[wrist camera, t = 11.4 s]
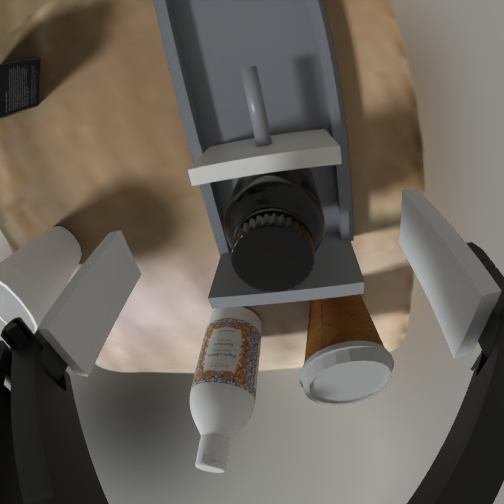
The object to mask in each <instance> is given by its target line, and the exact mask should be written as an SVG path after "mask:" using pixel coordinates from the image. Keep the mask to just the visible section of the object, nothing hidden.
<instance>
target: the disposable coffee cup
mask: <svg viewBox="0 0 504 504" xmlns="http://www.w3.org/2000/svg"><path fill="white" fill-rule="evenodd" d="M393 367H394V361H393V358H392V355H391V354H390V353H389V352H388V351H387V349H385V348H384V346H383V343H382V341H381V339H380V337H379V334H378V332H377V330H376V328H375V325H374V323H373V321H372V319H371V317H370V314H369V313H368V310H367V308H366V306H365V304H364V302H363V300H362V298H361V296H360V294H357V295H349V296H341V297H333V298H325V299H316V300H311V302H310V314H309V325H308V335H307V344H306V353H305V362H304V365H303V368H302V369H301V373H300V375H299V381H300V384H301V386H302V387H303V388H304V391H305V394H306V395H307V397H308V398H309V399H311V400H313V401H315V402H317V403H321V404H326V405H347V404H353V403H357V402H360V401H363V400H366V399H368V398H371V397H373V396H375V395H376V394H378V393H379V392H381V391H382V390H383V389H384V388H385V387H386V386H387V385H388V383H389V382H390V380H391V377H392V370H393Z"/></svg>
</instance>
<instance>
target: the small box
mask: <svg viewBox="0 0 504 504" xmlns="http://www.w3.org/2000/svg"><path fill="white" fill-rule="evenodd" d="M39 68H40V58H33V59H28V60H21V61H16V62H11V63H5V64H0V119H3V118H5V117H8V116H11V115H13V114H16V113H19V112H22V111H24V110H27V109H30V108H33V107H36V106H38V96H39V95H38V93H39Z"/></svg>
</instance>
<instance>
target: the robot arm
mask: <svg viewBox="0 0 504 504" xmlns="http://www.w3.org/2000/svg"><path fill="white" fill-rule="evenodd" d="M399 246H400V247H401V249H402V251H403V253H404V254H405V256H406V258H407V260H408V262H409V263H410V265H411V267H412V269H413V271H414V273H415V275H416V277H417V279H418V280H419V282H420V284H421V286H422V288H423V290H424V292H425V294H426V296H427V298H428V300H429V302H430V305H431V307H432V309H433V311H434V313H435V315H436V317H437V320H438V322H439V324H440V326H441V329H442V331H443V333H444V336H445V338H446V341H447V343H448V345H449V348H450V350H451V353H452V355H453V358H458V357H461V356H465V355H468V354H471V353H472V352H473V350H474V348H475V347H476V345H477V343H478V342H479V344H480V346H481V349H482V351H481V353H480V355H479V357H478V358H477V360H476V362H475V363H474V365H473V367H472V368H471V370H474V369H475V370H474V373H473V376H472V379H471V382H470V384H469V387H468V390H467V392H466V395H465V397H464V400H463V402H462V405H461V408H460V410H459V412H458V414H457V417H456V419H455V421H454V423H453V425H452V427H451V430H450V432H449V434H448V436H447V438H446V440H445V442H444V444H443V446H442V448H441V449H440V451H439V454H438V455H437V457H436V459H435V460H434V462H433V464H432V466H431V467H430V469H429V471H428V472H427V474H426V476H425V477H424V479H423V480H422V482H421V484H420V485H419V487H418V488H417V490H416V491H415V493H414V494H413V496H412V497H411V499H410V500H409V502H408V503H407V504H493V502H494V500H495V498H496V496H497V494H498V492H499V490H500V488H501V485H502V483H503V481H504V277H503V275H502V274H501V273H500V271H499V270H498V269H497V268H495V265H494V263H493V262H492V261H491V260H490V258H489V257H488V256H487V255H486V253H485V252H484V251H483V250H482V249H481V248H480V247H478V246H477V245H475V244H474V243H472V242H470V243H465V241H464V240H463V239H462V238H461V236H460V235H459V234H458V233H457V232H456V231H455V229H454V228H453V227H452V226H451V225H450V224H449V223H448V221H447V220H446V219H445V218H444V217H443V216H442V215H441V214H440V213H439V211H438V210H437V209H436V208H435V207H434V206H433V205H432V204H431V203H430V202H429V201H428V200H427V199H426V198H425V197H424V196H423V195H422V194H421V193H420V192H419V191H418V190H404V191H402V208H401V225H400V238H399ZM140 276H141V272H140V270H139V268H138V266H137V264H136V262H135V260H134V258H133V256H132V253H131V251H130V249H129V247H128V245H127V242H126V240H125V238H124V236H123V233H122V231H121V230H119V231H114V232H109V234H108V235H107V236H106V237H105V238H104V239H103V241H102V242H101V243H100V244H99V245H98V246H97V248H96V249H95V250H94V251H93V253H92V254H91V255H90V256H89V257H88V259H87V260H86V261H85V262H84V264H83V265H82V266H81V267H80V269H79V270H78V271H77V273H76V274H75V275H74V276H73V278H72V279H71V280H70V282H69V283H68V284H67V286H66V287H65V288H64V290H63V291H62V293H61V294H60V295H59V297H58V298H57V299H56V301H55V302H54V304H53V305H52V307H51V308H50V309H49V311H48V312H47V314H46V315H45V317H44V318H43V320H42V321H41V323H40V324H39V326H38V327H37V330H36V332H35V333H34V334H33V332H32V331H31V330H30V329H29V327H28V326H27V325H26V323H25V322H24V321H23V319H22V318H20V317H16V318H14V319H12V320H11V321H10V322H9V323H8V324H7V325H6V326H5V327H4V329H3V330H2V333H1V337H2V338H3V339H4V340H5V341H6V343H7V344H8V345H9V346H10V347H11V348H9V347H8V346H7V345H6V344H5V342H4V341H2V340H1V341H0V504H108V501H107V499H106V497H105V495H104V492H103V490H102V487H101V485H100V482H99V480H98V477H97V474H96V472H95V469H94V466H93V463H92V460H91V457H90V455H89V451H88V448H87V445H86V442H85V438H84V435H83V432H82V428H81V424H80V420H79V417H78V412H77V408H76V404H75V400H74V395H73V390H72V386H71V380H70V376H69V374H68V373H67V372H66V371H65V370H66V368H67V366H69V367H70V368H71V369H72V370H73V371H74V372H75V373H76V374H78V375H84V376H89V375H90V372H91V370H92V368H93V366H94V364H95V362H96V360H97V358H98V355H99V353H100V351H101V349H102V347H103V345H104V343H105V341H106V339H107V337H108V335H109V333H110V331H111V329H112V327H113V325H114V323H115V321H116V320H117V318H118V316H119V314H120V312H121V310H122V308H123V306H124V304H125V303H126V301H127V299H128V297H129V295H130V293H131V292H132V290H133V288H134V286H135V284H136V283H137V281H138V279H139V277H140ZM5 379H6V381H7V382H8V383H9V384H10V385H11V391H10V390H9V389H8V388H6V387H5V386H4V381H5Z"/></svg>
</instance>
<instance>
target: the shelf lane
mask: <svg viewBox="0 0 504 504" xmlns="http://www.w3.org/2000/svg"><path fill="white" fill-rule="evenodd" d="M154 4H155V9H156V14H157V18H158V23H159V27H160V32H161V36H162V41H163V45H164V49H165V54H166V58H167V62H168V66H169V70H170V75H171V79H172V83H173V87H174V91H175V95H176V99H177V103H178V107H179V111H180V114H181V118H182V122H183V126H184V130H185V134H186V137H187V141H188V145H189V149H190V152H191V156H192V160H193V163H194V162H195V161H196V160H197V159H198V158H199V157H200V156H201V155H202V154H203V153H204V152H205V151H206V150H207V149H208V148H209V147H210V146H215V145H220V144H225V143H230V142H235V141H241V140H246V139H252V138H255V137H254V133H253V128H252V123H251V118H250V113H249V109H248V104H247V99H246V95H245V90H244V85H243V81H242V76H241V72H240V69H241V68H246V67H251V66H257V70H258V74H259V79H260V84H261V88H262V93H263V98H264V103H265V108H266V113H267V118H268V123H269V128H270V134H271V135H278V134H285V133H292V132H300V131H308V130H317V129H325V130H326V131H327V132H328V133H329V134H330V135H331V136H332V138H333V139H334V140H335V141H336V142H337V143H338V144H339V146H340V151H341V161H342V164H336V165H327V166H317V167H309V169H310V170H311V173H312V175H313V178H314V181H315V185H316V188H317V192H318V195H319V199H320V202H321V206H322V210H323V213H324V219H325V232H324V236H323V240H322V242H321V244H320V246H319V248H318V249H317V251H316V252H315V257H314V258H315V263H314V265H313V270H312V271H311V272H310V275H309V276H308V277H307V278H306V280H305V281H303V282H301V284H300V285H298V286H295V287H294V288H293V289H288V290H287V291H281V292H268V291H262V290H257V289H255V288H254V287H250V286H249V285H248V284H246V283H244V282H243V281H242V279H240V278H239V277H238V275H237V273H235V272H234V268H233V267H232V261H231V259H230V256H231V247H230V245H229V243H228V241H227V239H226V236H225V232H224V217H225V212H226V209H227V206H228V203H229V201H230V198H231V195H232V193H233V190H234V188H235V185H236V182H237V180H238V178H233V179H227V180H222V181H216V182H211V183H205V184H200V188H201V192H202V195H203V199H204V202H205V206H206V209H207V213H208V216H209V220H210V223H211V226H212V230H213V233H214V237H215V240H216V243H217V247H218V250H219V253H220V256H221V257H220V260H219V264H218V267H217V270H216V273H215V277H214V280H213V283H212V287H211V290H210V293H209V297H208V299H209V302H210V304H211V307H212V308H228V307H241V306H254V305H266V304H277V303H287V302H297V301H307V300H316V299H325V298H333V297H341V296H349V295H357V294H364V279H363V276H362V273H361V270H360V267H359V264H358V261H357V259H356V256H355V253H354V250H353V247H352V245H351V242H350V241H353V207H352V187H351V172H350V159H349V148H348V138H347V129H346V120H345V112H344V105H343V98H342V91H341V84H340V78H339V72H338V67H337V61H336V56H335V51H334V46H333V41H332V36H331V31H330V27H329V22H328V18H327V14H326V10H325V6H324V2H323V0H154Z"/></svg>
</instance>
